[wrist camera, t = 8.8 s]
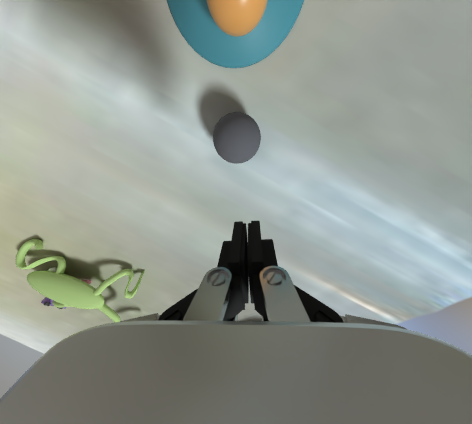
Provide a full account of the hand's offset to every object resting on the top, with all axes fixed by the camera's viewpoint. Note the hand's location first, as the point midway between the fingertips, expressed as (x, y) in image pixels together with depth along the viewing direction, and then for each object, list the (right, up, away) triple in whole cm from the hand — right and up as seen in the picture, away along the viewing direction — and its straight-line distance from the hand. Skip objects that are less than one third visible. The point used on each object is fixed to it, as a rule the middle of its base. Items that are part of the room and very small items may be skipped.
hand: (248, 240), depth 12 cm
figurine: (-31, -13, +26) cm, 43 cm away
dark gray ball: (-1, +10, +9) cm, 14 cm away
